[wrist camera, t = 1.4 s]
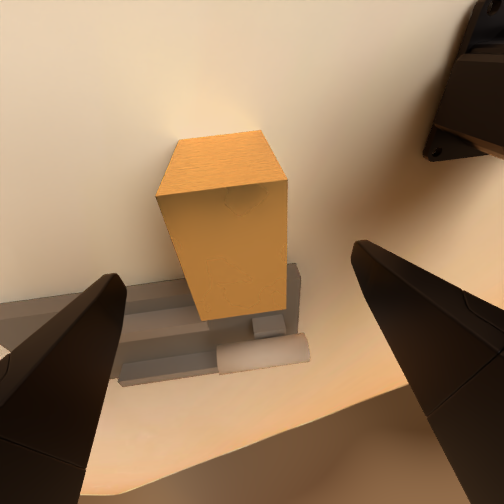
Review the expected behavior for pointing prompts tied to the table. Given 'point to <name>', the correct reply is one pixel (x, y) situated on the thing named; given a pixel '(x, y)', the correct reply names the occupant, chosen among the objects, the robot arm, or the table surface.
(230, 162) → the block
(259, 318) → the shaft stand
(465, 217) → the table surface
